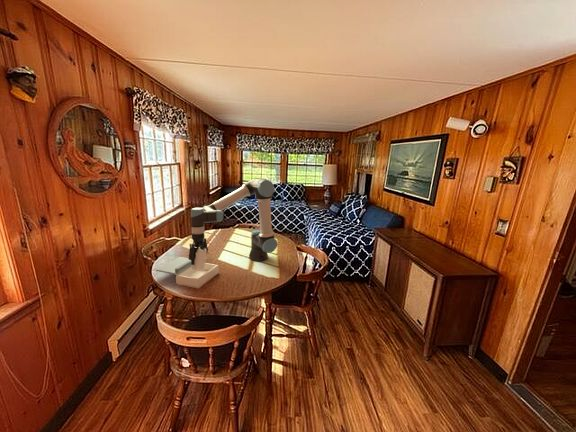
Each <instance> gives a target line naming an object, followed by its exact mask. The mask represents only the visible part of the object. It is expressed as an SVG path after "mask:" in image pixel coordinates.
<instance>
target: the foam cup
mask: <svg viewBox="0 0 576 432" xmlns="http://www.w3.org/2000/svg"><path fill="white" fill-rule="evenodd" d="M206 253H207V249H206V248H204V250H202V249H200V247H199V249H198V250H197V252H196V258H195V259H196V270H195V269H194V270H195V271H201V270H204V268H205V260H206V261H207V254H208V253H207V254H206Z"/></svg>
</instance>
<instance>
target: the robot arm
mask: <svg viewBox="0 0 576 432" xmlns="http://www.w3.org/2000/svg"><path fill="white" fill-rule="evenodd" d="M274 192H275V186H274V184H273V182H272V181H271V180H269V179H266V178H260V177H255V178H253V179H251V180H249V181H247V182H245V183H243V184H242V186H241V187H239V188H238V189H235V190H234V191H231V193H228V194H227V195H225V196H223V197H221V198H220V199H218V200H216V201H213V203H211V204H209V205H204V206H203V207H193V208H191V209H190V224H191V225H190V226H191V240H192V243H189V252H188V258H189V260H191V264H192V269H195V270H196V259H195V258H196V252H197V250H198V249H199V247H200V249H202V250H204V248H206V249H207V253H206V255H207V254H208V253H209V252H208V251H209V248H208V243H207V238H205V223H207V224H208V223H209V224H210V223H219V222H222V221H223V220H224V212H223V211H224V210H226V209H227V208H229V207H230V206H232V205H235V204H236V203H238V202H240V201H241V200H242V199H244V198H246V197H250V196H252V195H255V200H256V201H257V206H258V216H259V217H258V220H259V229H255V230H252V231H251V233H250V234H251V235H250V237H251V239H250V240H251V242H250V243H251V245H250V247H251V248H250V252H249V254H248V259H249V260H250V261H253V262H263V261H266V260H268V258H269V254H270V253H273V252H274V251H275V250H276V249H277V248H278V241H277V239H276V238H275V233H274V231H273V226H272V224H273V223H272V212H271V210H272V209H271V200H272V198H273V195H274ZM205 263H207V259H206V260H205Z"/></svg>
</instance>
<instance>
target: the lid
mask: <svg viewBox="0 0 576 432" xmlns="http://www.w3.org/2000/svg"><path fill="white" fill-rule="evenodd" d="M191 266H192V264H191V260H189V257H182V256H179V257H177V258H174V259H173V260H171V261H169V262H167V263H165V264H163V265H162V266H159V267H158V268H156V269H155V272H159V273H163V274H164V273H165V274H170V275H175V276H176V275H178V274H179V273H181V272H183V271H184V270H186V269H188V268H189V267H191Z"/></svg>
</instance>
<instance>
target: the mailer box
mask: <svg viewBox="0 0 576 432" xmlns="http://www.w3.org/2000/svg"><path fill="white" fill-rule="evenodd" d="M219 268H220V267H219V264H213V263H208V262H206V263H205V268H204V270H201V271H195V270H194V269H192V266H191V267H189V268H188V269H186V270H184V271H183V272H181V273H179V274H178V275H175V282H176V285H179V286H183V287H189V288H194V289H200V288H201V287H203V286H204V285H206V284H207V283H208V282H209V281H210V280H212V279H214V277H215V276H217V275H218V274H220V272H219Z"/></svg>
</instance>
